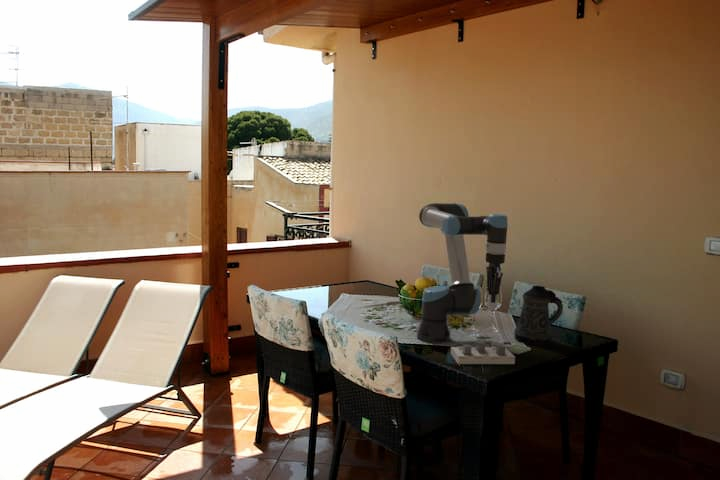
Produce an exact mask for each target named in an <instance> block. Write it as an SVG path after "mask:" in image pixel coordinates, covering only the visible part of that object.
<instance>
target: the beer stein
mask: <svg viewBox="0 0 720 480" xmlns="http://www.w3.org/2000/svg"><path fill="white" fill-rule="evenodd" d="M522 300H523V302H522V307H521V311H520V315H519V318H518V322H517V325H516V326H515V329H514V339H515V341H516V342H519V343H522V344H525V345H530V346H546V345H549V344H550V343H551V341H552V336H553V335H552V332H551V327H550V326H552V324H554V323H555V322H556V321H557V320H558V319H559V318H560V317H561V315H562V313H563V309H564V305H563V301H562V299H560V298H559V297H558V296H556V293H555V292H554V291H553V290H549V289H546V287H545V286H543V285H533V286H532V287H531V288H530V289H528V290H527V291H525V292H524V293H523V294H522ZM549 304H555V305H556V306H557V310H556V311H555V312H554V314H553V315H552V316H550V309H549Z"/></svg>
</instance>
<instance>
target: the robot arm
mask: <svg viewBox="0 0 720 480" xmlns="http://www.w3.org/2000/svg"><path fill="white" fill-rule="evenodd" d="M418 218H419V221H420V223H421V224H422V225H423V226H425V227H427V228H437V229H440V232H441V234H443V235H444V236H445V245H446V252H447V260H448V266H449V274H450V282H451V283H450V285H449V286H446V285H445V286H444V285H435V286H429V287H426V288H425V289H424V290H423V292H422V298H421V319H420V320H421V321H420V323H419V326H418V329H417V332H416V338H417V339H418V340H420V341H424V342H428V343H436V344H437V343H447V342H449V341H450V340H451V331H450V328H449V327H450V326H449V324H448V316H469V315H475V314H476V313H478V312H479V310H480V306H481V302H482V294H481V292H480V290H479V289H478V288H475V284H474V283H473V282H472V281H471V277H470V272H469V265H468V258H467V257H468V256H467V251H466V244H465V238H464V237H465V236H464V235H467V236H468V235H471V236H472V235H473V236H474V235H477V236H478V235H479V236H482V235H483V236H487V237H486V244H485V247H486V248H485V249H486V250H485V251H486V253H485V262H486V263H488V266H486V291H488V299H487V300H488V301H487V302H488V303H487V310H489V311H496V306H497V304H496V303H497V295H499V294H500V289H501V283H502V278H503V275H504V273H503V272H501V271H502V268H501V264H502V265H503V264H504V263H505V262H506V254H505V253H506V250H507V236H508V235H507V234H508V216H507V215H505V214H501V213H500V214H497V213H491V214H489V216H488V215H478V216H470V215H469V211H468V209H467V207H466V206H465V205H463V204H462V203H457V202H456V203H455V202H453V203H445V202H444V203H443V202H442V203H441V202H440V203H438V202H437V203H436V202H434V203H429V204H426V205H425V206H424V205H423V207H422V208H421V209H420V211H419V213H418Z"/></svg>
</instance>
